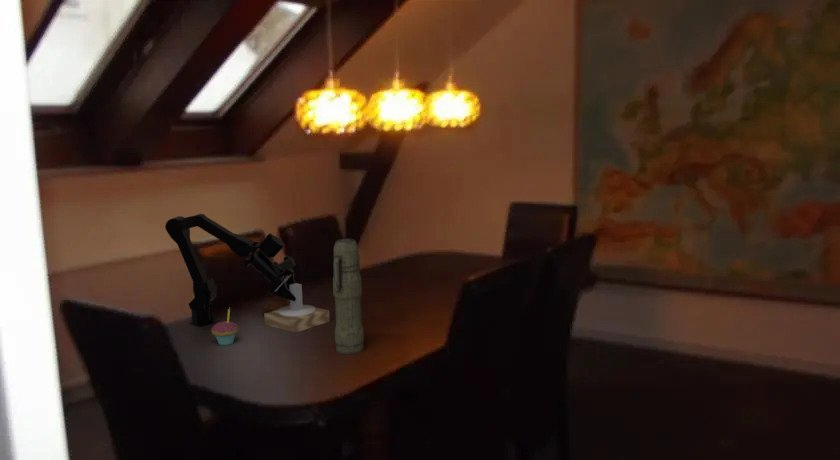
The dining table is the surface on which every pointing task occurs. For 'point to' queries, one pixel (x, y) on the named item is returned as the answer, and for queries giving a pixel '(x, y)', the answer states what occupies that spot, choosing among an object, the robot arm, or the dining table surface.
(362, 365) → the dining table surface
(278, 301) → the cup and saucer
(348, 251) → the thermos
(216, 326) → the cupcake
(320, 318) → the trivet
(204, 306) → the robot arm
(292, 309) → the white peg stand
